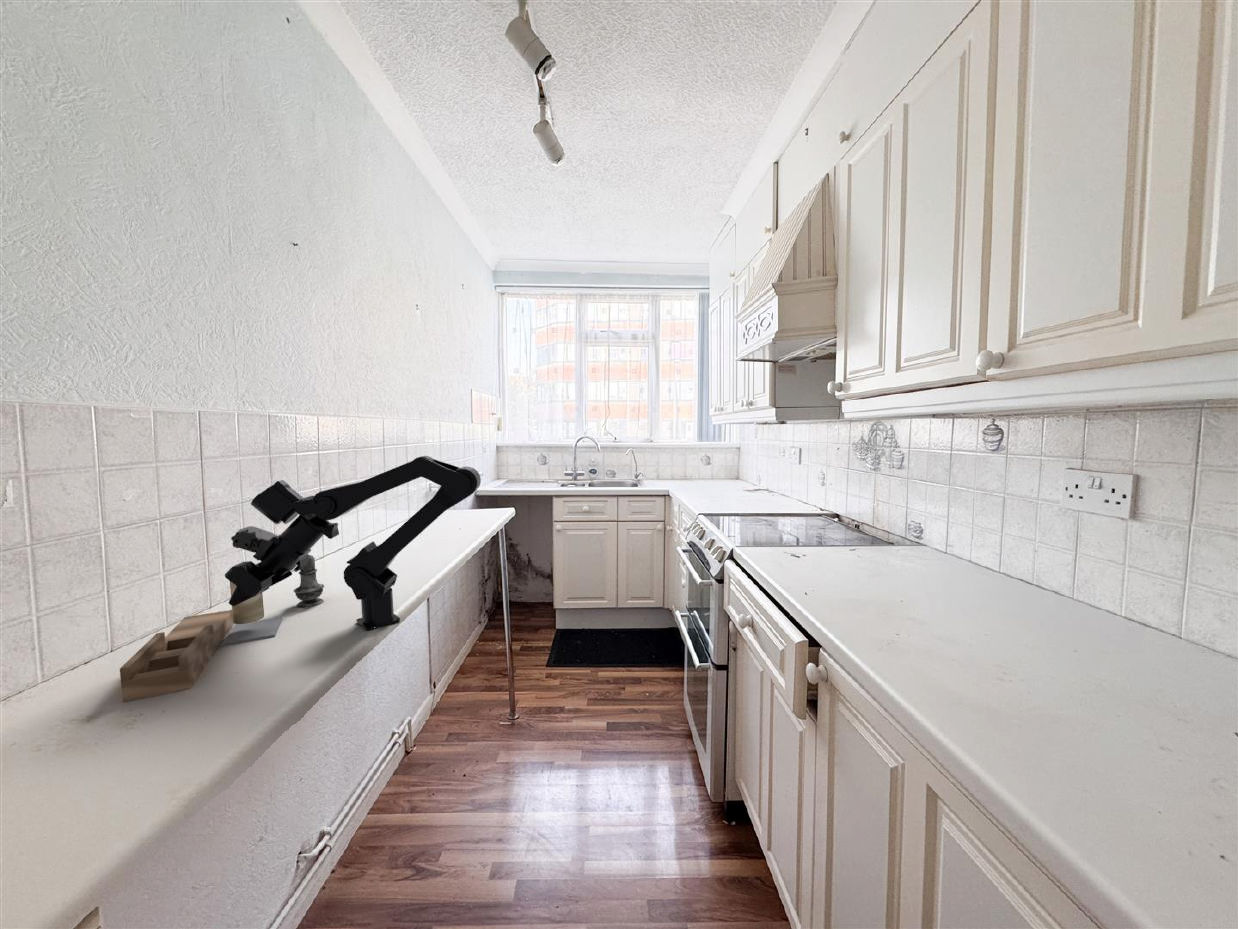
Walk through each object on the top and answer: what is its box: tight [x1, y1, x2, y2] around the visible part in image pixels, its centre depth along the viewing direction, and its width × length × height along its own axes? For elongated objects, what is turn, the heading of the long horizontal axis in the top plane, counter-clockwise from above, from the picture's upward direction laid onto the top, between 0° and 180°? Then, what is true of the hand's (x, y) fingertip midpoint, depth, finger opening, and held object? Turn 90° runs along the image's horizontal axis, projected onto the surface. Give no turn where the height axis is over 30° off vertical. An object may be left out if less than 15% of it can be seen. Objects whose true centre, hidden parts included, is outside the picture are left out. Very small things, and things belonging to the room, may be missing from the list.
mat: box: [221, 616, 284, 646], centre depth 95 cm, size 10×8×1 cm
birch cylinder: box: [229, 581, 265, 625], centre depth 94 cm, size 5×5×8 cm
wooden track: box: [119, 609, 235, 703], centre depth 84 cm, size 28×8×5 cm, turn 27°
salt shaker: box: [293, 553, 325, 609], centre depth 109 cm, size 6×6×12 cm
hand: (239, 599), depth 94 cm, fingers closed on birch cylinder, 5 cm apart
